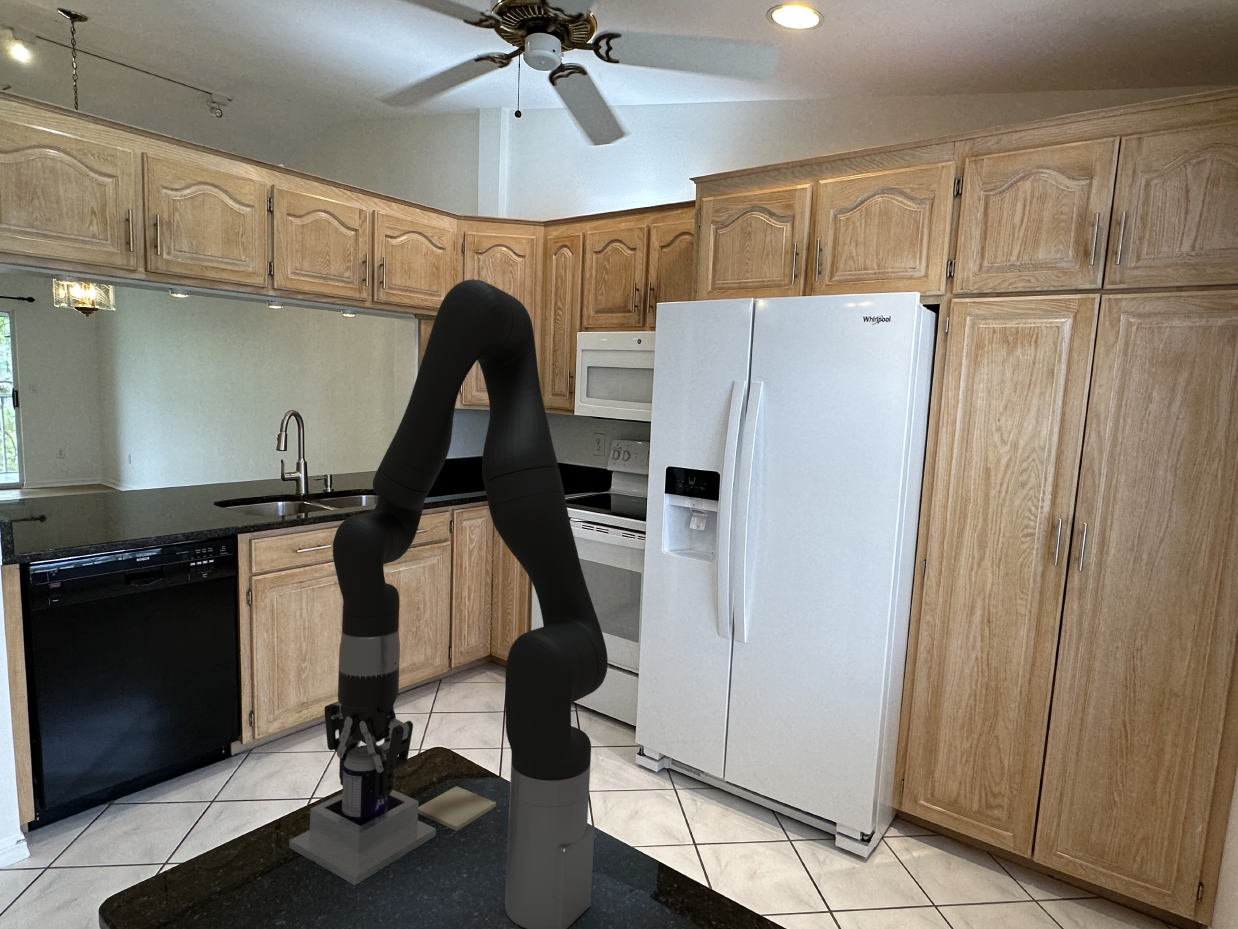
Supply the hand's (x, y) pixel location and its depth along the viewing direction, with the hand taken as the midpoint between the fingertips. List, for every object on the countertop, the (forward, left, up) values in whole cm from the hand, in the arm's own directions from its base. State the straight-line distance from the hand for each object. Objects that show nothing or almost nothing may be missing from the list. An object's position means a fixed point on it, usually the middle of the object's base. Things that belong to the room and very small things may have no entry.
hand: (365, 789), depth 94 cm
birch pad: (-4, -13, -7) cm, 16 cm away
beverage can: (0, 0, -7) cm, 7 cm away
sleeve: (0, 0, -7) cm, 7 cm away
